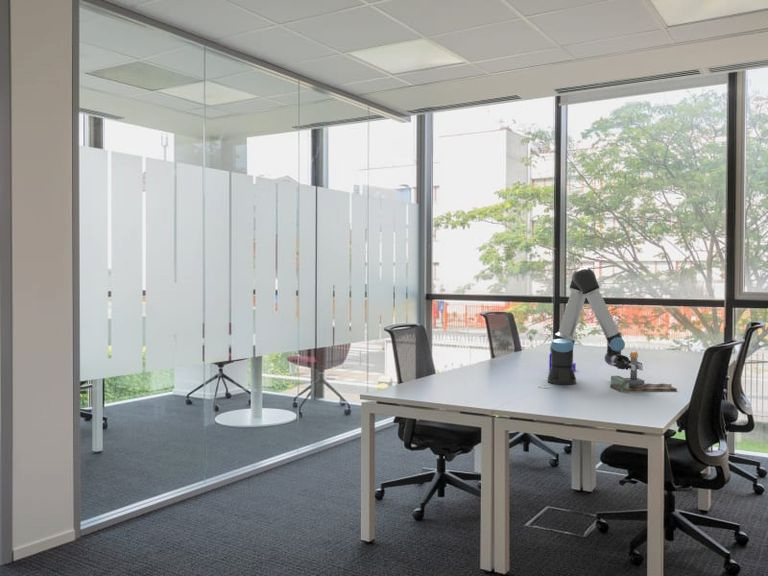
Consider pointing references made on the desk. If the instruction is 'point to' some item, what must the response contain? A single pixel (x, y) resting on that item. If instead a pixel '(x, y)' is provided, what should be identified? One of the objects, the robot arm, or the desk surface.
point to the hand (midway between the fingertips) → (638, 367)
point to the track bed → (623, 386)
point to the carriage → (634, 372)
